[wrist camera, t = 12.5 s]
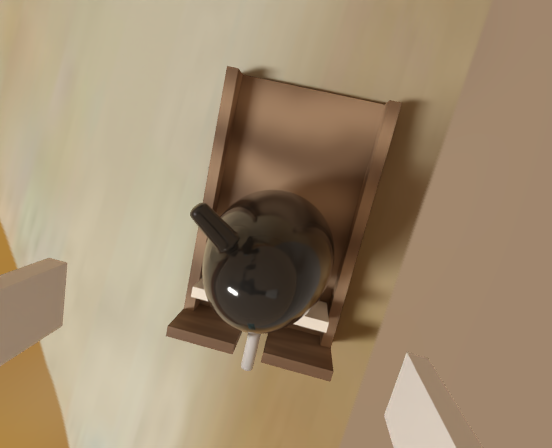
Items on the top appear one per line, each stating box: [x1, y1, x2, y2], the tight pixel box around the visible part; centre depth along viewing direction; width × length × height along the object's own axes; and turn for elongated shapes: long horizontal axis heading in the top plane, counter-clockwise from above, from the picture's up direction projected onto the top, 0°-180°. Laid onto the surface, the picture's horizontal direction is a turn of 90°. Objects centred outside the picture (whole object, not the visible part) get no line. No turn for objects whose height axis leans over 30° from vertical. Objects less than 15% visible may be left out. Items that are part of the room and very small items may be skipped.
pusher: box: [191, 278, 329, 371], centre depth 29 cm, size 8×12×4 cm, turn 77°
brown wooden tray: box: [166, 66, 402, 381], centre depth 27 cm, size 24×15×6 cm, turn 167°
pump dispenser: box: [190, 189, 335, 334], centre depth 22 cm, size 10×10×15 cm
